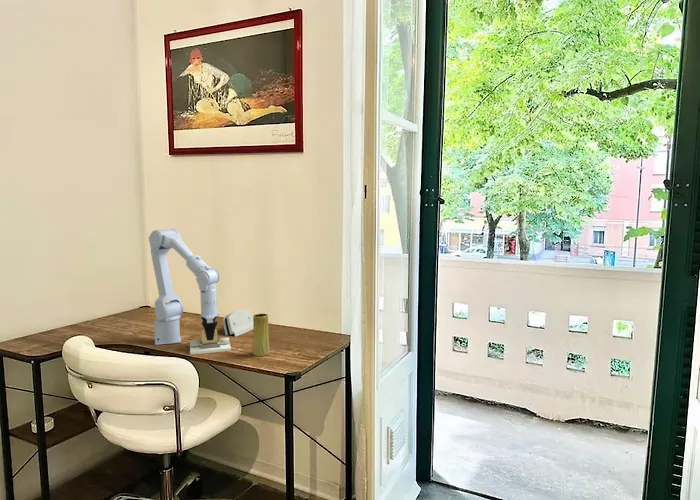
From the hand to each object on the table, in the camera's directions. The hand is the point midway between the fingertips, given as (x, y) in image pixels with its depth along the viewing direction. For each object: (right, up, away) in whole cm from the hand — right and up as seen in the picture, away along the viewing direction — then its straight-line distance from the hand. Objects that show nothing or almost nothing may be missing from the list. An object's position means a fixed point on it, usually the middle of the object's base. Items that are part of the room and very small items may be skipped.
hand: (209, 337), depth 186 cm
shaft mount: (0, -4, 0) cm, 4 cm away
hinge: (+6, -2, +25) cm, 25 cm away
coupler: (0, -3, 0) cm, 3 cm away
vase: (+21, -5, -7) cm, 22 cm away
